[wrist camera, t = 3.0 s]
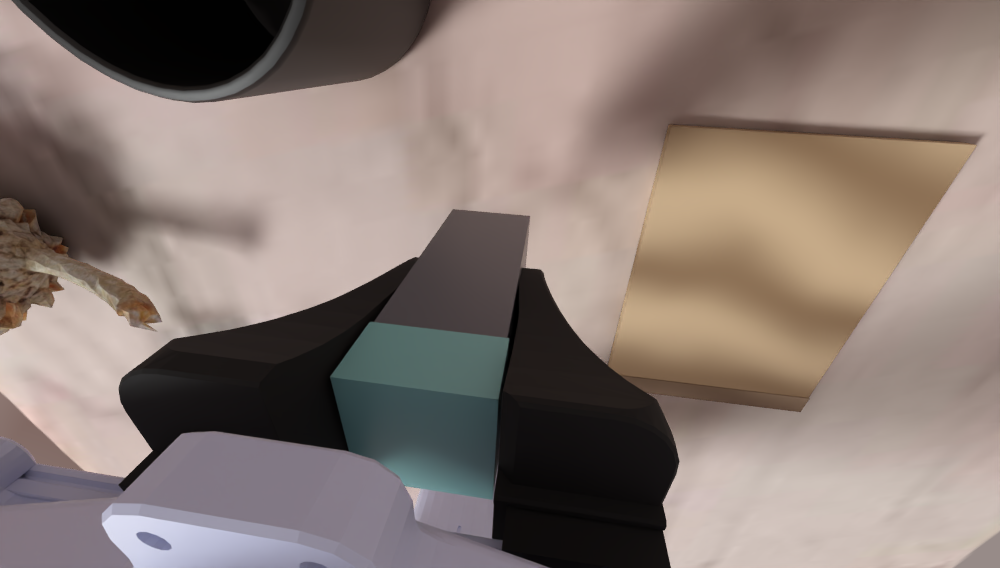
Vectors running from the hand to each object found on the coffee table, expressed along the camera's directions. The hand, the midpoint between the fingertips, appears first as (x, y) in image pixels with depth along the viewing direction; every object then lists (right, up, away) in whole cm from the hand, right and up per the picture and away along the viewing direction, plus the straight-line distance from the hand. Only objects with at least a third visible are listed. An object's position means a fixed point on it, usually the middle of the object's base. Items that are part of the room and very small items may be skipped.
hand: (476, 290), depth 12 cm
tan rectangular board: (+14, 0, +8) cm, 16 cm away
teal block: (0, +2, +2) cm, 3 cm away
